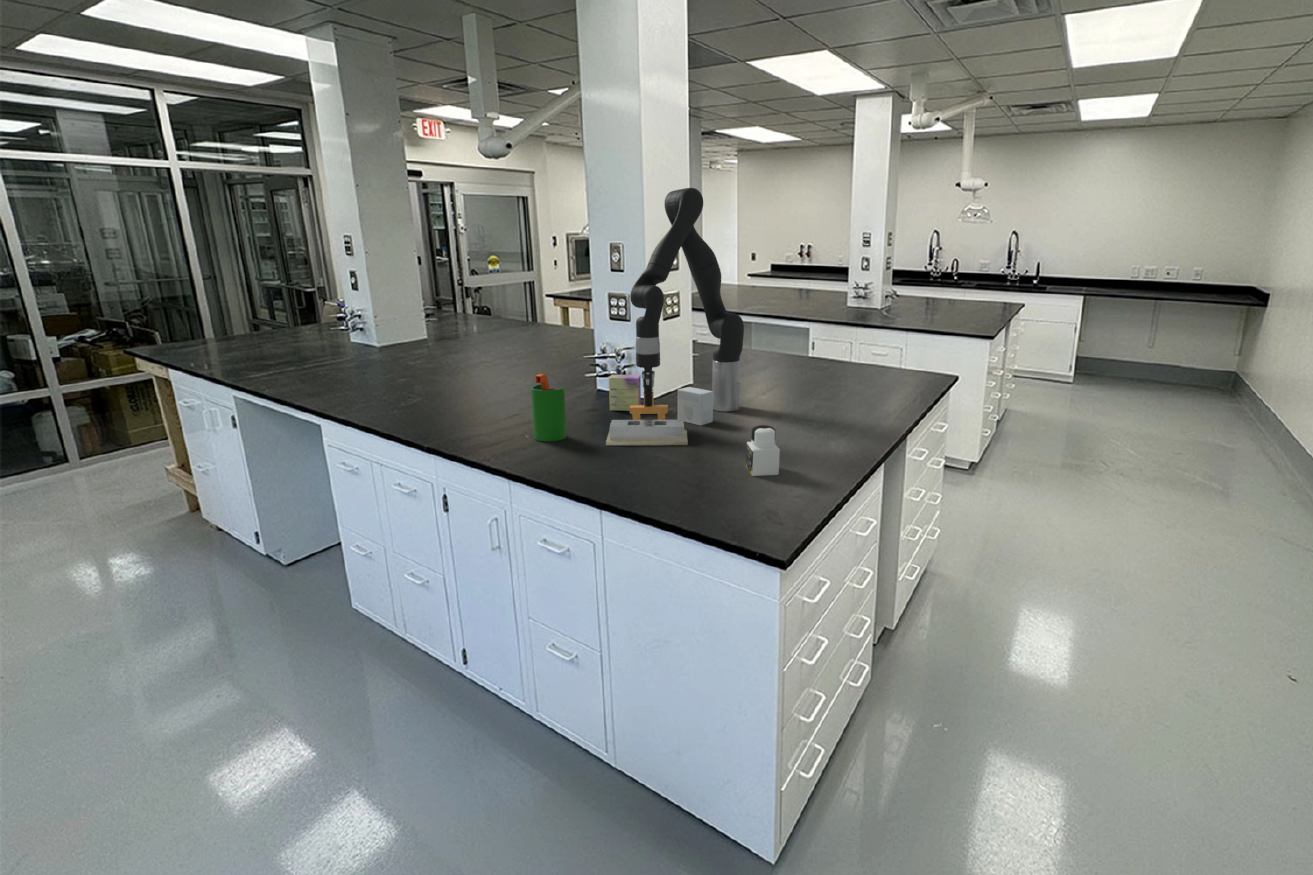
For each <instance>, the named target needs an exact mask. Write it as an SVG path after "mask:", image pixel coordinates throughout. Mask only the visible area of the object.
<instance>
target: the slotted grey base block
mask: <svg viewBox="0 0 1313 875" xmlns="http://www.w3.org/2000/svg"><path fill="white" fill-rule="evenodd" d="M609 424H610V425H609V431H608V434H607V438H606V440H605V446H688V445H689V444H688V443H689V442H688V430H687V429H685V422H684V420H677V419H665V420H658V419H641V420H633V419H611V422H610V423H609Z"/></svg>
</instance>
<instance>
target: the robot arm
mask: <svg viewBox="0 0 1313 875" xmlns="http://www.w3.org/2000/svg"><path fill="white" fill-rule="evenodd" d="M703 207H704V199H703V195H702V193H701V192H700V190H698V189H697V188H696V187H695V188H694V187H685V188H680V189H677V190H672V191H670V192H668V193H667V194H666V196H665V198H664V211H665V214H666V216H667V218H668V221H669V222H670V224H671V226H670V227H669V230H668V231H667V232H666V234H665V235H664V236H663V237H662V238H661V239H660V241H659V242H658V243H657V244H656V246H655V247H654V250H653V251H652V253H651V256H650V258H649V260H648V263H647V265H646V268H645V270H644V271H643V272H642V273H641V275H640V276H639V278H637V280H636V281H635V283H634V284H633V286H632V288H631V291H630V296H629V298H630V303H631V304H632V306H633V307H635V308H637V309H645V311H644V315H643V316H640V317H638V318H637V319H636V321H635V336H636V337H635V365H636V366H637V368H642V369H643V371H642V372H641V379H642V388H643V395H644V394H645V406H646V407H650V406H652V394H653V395H654V386H655V375H656V374H655V372H656V371H654V370H653V369H654V368H655V369H656V368H659V367H660V365H661V342H660V324H659V323H660V319H661V317H662V316H661V315H662V313H663V308H664V303H665V296H664V291H663V290H662V289H661V288H660V287H659V286H657V285H658V284H661V283H664V282H666V281H667V279H668V277H669V275H670V272H671V270H672V267H673V265H674V263H675V260H676V258H677V256H678V254H679V251H680V250H681V249H682V251H683V254H684V257H685V260H686V262H687V265H688V268H689V271H690V274H691V277H692V279H693V282H694V284H695V286H696V290H697V293H698V295H699V298H700V300H701V304H702V306H703V311H704V314H705V318H706V323H707V325H708V326H707V327H708V330H709V332H710V334H711V335H712V336H713V337H714V338H716V339H718V340H720V341H719V348H717V349H716V350H714V351H712V352H713V353H712V375H711V376H712V377H711V378H712V380H711V382H712V383H711V384H712V386H711V387H712V388H711V389H712V390H711V391H713V411H717V412H734V411H740V393H741V391H740V390H741V389H740V388H741V384H740V362H741V361H740V360H741V355H742V352H743V346H744V338H745V337H744V334H745V325H744V320H743V319H742V317H741V315H739V314H737V313H735V312H734V313H733V312H728V311H727V309H726V306H725V304H724V302H723V299H722V296H721V294H722V293H721V289H722V288H721V287H722V286H721V285H722V271H721V267H720V266H719V265H720V264H719V262H718V259H717V256H716V255H715V252H714V251H713V249H712V248H711V247H710V245H709V244H708V243H707V242H706V241H705V240H704V239H703V238H702V237H701V235H700V234H699V233H698V231H697V230H696V228H695V224H696V222H697V220H698V219H699V217H700V215H701V214H702V211H703V210H704V208H703Z"/></svg>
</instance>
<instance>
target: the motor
mask: <svg viewBox="0 0 1313 875" xmlns="http://www.w3.org/2000/svg"><path fill="white" fill-rule="evenodd" d="M535 383H536V384H535V385H532V386H531V387H530V393H531V394H530V396H531V411H532V413H531V414H532V427H533V439H534V440H536V441H539V442H557V441H558V442H559V441H562V440H565V439H567V418H566V403H565V401H566V400H565V387H559V388H550V385H549V384H550V383H549V379H548V376H547V374H542V373H538V374H537V375H535Z"/></svg>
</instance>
